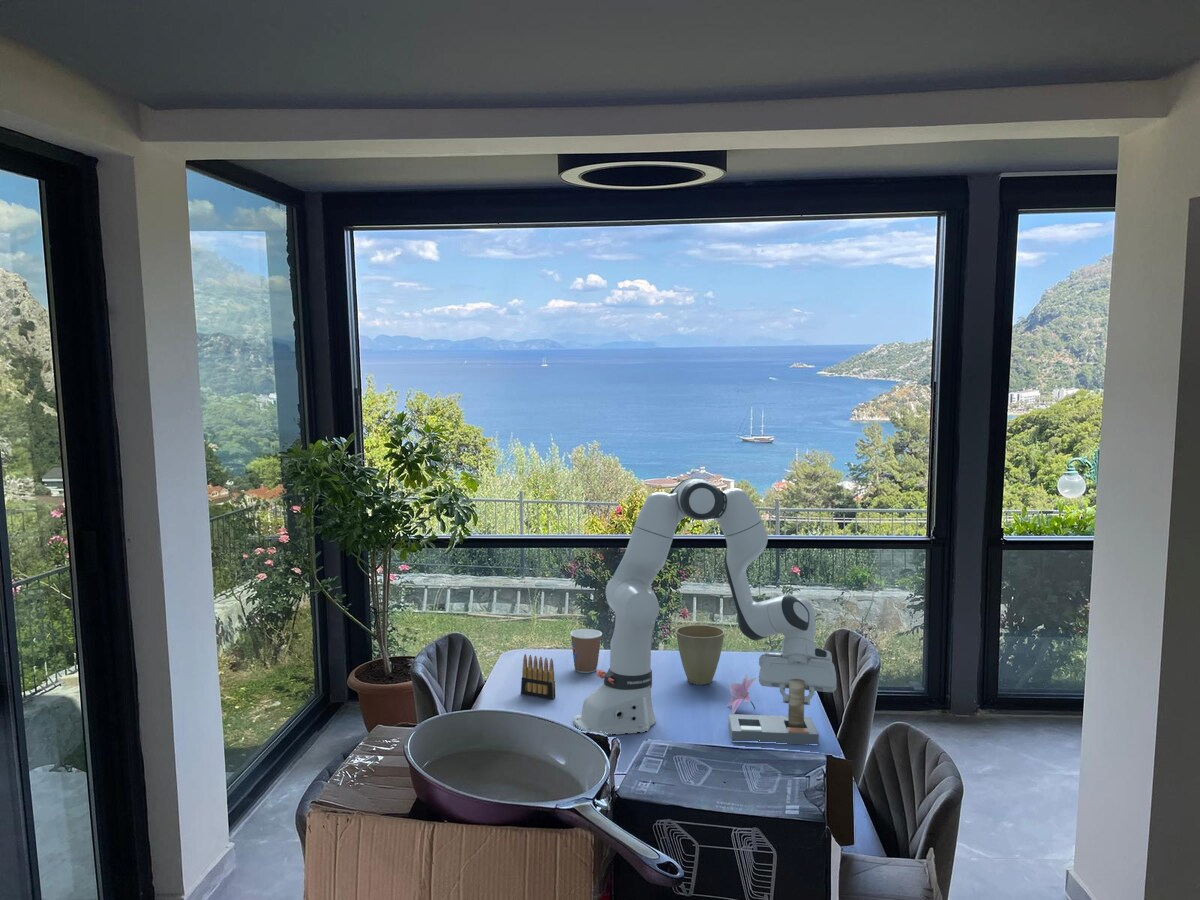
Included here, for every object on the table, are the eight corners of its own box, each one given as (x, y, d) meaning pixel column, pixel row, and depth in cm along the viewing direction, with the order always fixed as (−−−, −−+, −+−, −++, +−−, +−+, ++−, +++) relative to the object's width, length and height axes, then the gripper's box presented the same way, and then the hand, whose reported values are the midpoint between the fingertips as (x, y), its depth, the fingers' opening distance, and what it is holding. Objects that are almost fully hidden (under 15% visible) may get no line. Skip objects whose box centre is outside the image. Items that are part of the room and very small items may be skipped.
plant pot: (710, 671, 287) (711, 623, 286) (731, 686, 273) (732, 635, 271) (667, 675, 282) (668, 626, 281) (686, 691, 268) (687, 639, 267)
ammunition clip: (520, 694, 263) (520, 654, 263) (523, 692, 265) (524, 652, 264) (552, 699, 259) (552, 659, 258) (555, 697, 261) (555, 657, 260)
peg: (794, 729, 231) (795, 684, 230) (785, 724, 235) (786, 680, 234) (806, 727, 233) (808, 682, 232) (797, 722, 237) (798, 678, 236)
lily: (732, 702, 262) (718, 676, 259) (769, 691, 258) (756, 665, 255) (730, 729, 251) (716, 702, 248) (769, 718, 247) (755, 691, 245)
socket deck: (731, 742, 229) (732, 729, 229) (728, 724, 241) (728, 712, 241) (818, 745, 228) (818, 732, 227) (810, 728, 240) (811, 715, 239)
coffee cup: (572, 663, 293) (573, 628, 292) (603, 665, 291) (604, 629, 291) (567, 673, 283) (567, 636, 282) (599, 675, 281) (599, 638, 280)
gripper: (759, 646, 242) (755, 693, 233) (837, 652, 237) (836, 701, 228) (760, 658, 246) (756, 704, 238) (836, 664, 242) (835, 712, 233)
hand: (796, 703), depth 233 cm, fingers closed on peg, 4 cm apart
